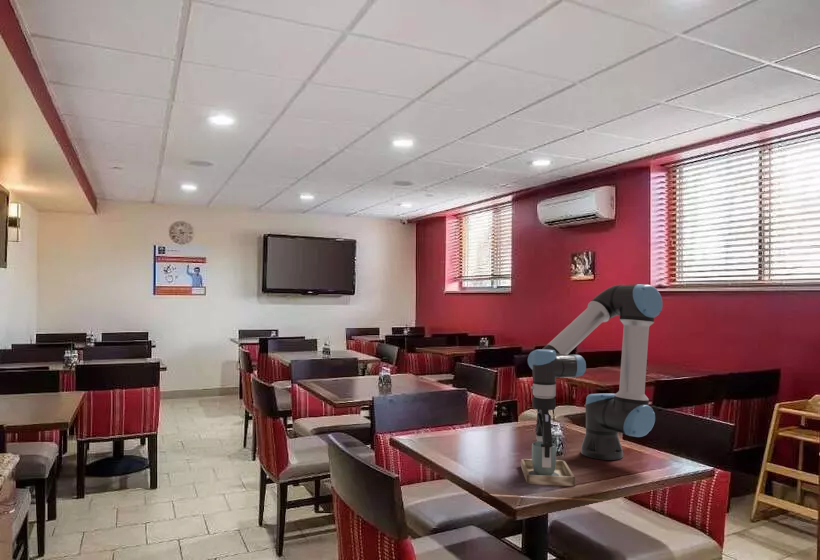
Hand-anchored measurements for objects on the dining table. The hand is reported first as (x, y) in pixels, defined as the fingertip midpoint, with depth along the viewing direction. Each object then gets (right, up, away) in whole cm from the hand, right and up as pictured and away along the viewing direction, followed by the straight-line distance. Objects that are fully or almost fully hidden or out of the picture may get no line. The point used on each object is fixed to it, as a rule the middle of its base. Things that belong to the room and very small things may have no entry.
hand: (543, 461), depth 189 cm
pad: (0, -5, 0) cm, 5 cm away
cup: (0, -5, -1) cm, 5 cm away
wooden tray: (+1, -5, 0) cm, 5 cm away
